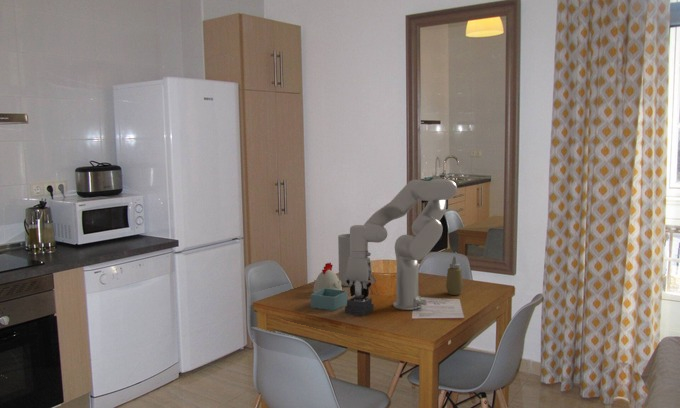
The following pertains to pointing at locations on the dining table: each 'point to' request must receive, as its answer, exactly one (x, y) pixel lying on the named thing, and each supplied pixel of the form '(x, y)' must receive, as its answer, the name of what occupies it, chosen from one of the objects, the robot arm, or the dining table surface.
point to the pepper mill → (359, 291)
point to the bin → (329, 299)
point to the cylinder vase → (343, 256)
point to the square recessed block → (359, 307)
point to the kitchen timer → (327, 279)
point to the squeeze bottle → (454, 278)
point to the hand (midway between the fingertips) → (359, 295)
